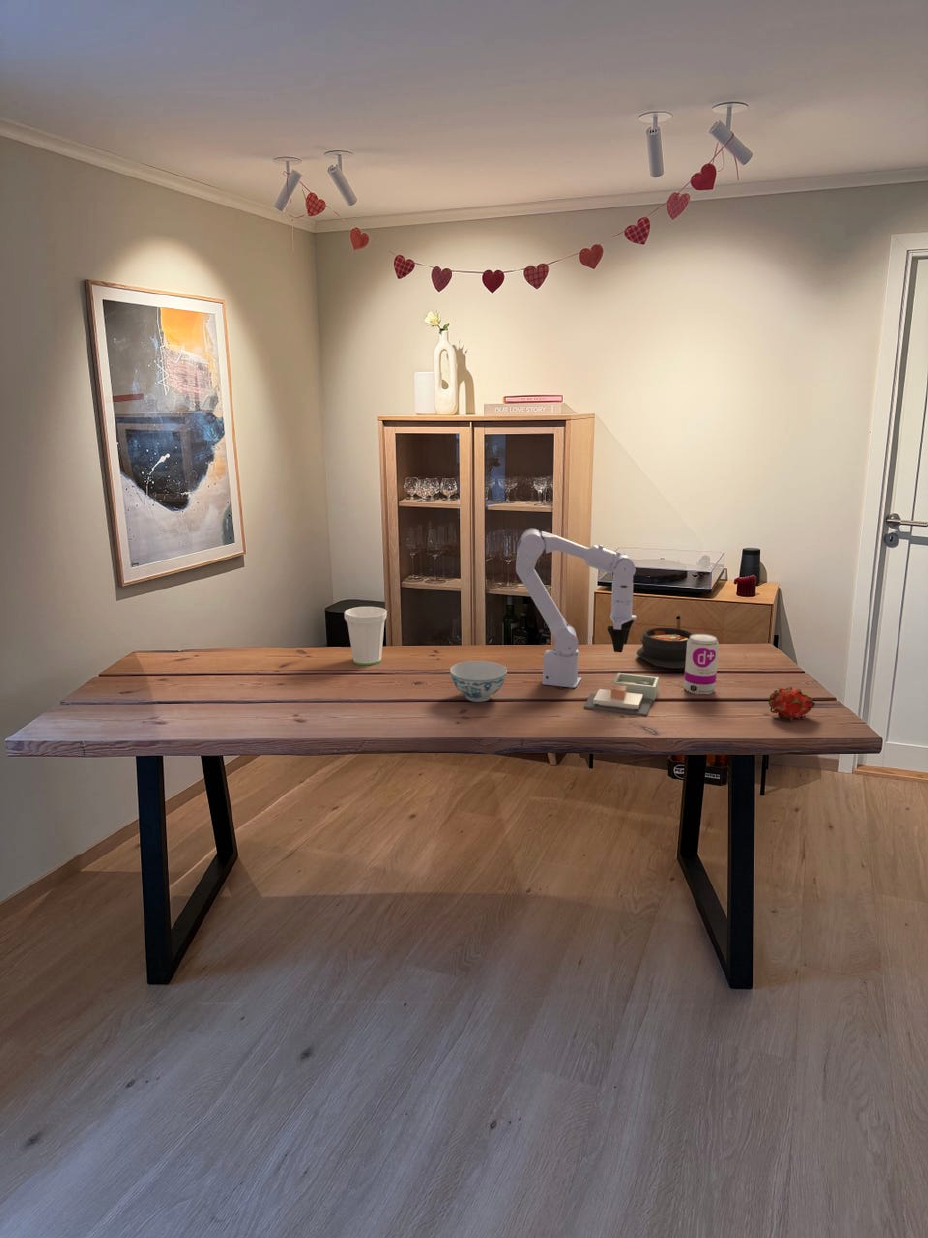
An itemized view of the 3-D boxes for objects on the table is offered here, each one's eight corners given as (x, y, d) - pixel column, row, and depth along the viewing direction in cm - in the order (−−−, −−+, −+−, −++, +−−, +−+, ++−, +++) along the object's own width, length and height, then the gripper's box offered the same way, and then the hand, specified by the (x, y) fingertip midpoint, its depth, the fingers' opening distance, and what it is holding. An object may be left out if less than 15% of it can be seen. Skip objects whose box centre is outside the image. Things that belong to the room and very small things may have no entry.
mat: (583, 708, 221) (583, 706, 221) (591, 695, 230) (591, 693, 230) (646, 715, 216) (646, 714, 216) (651, 702, 225) (652, 700, 225)
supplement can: (716, 696, 229) (720, 642, 225) (684, 694, 231) (688, 641, 227) (713, 686, 237) (718, 634, 233) (683, 684, 239) (686, 632, 235)
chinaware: (480, 712, 218) (481, 683, 216) (438, 698, 228) (438, 670, 226) (518, 696, 229) (518, 669, 227) (476, 683, 239) (476, 657, 237)
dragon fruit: (761, 721, 217) (807, 728, 217) (776, 713, 209) (824, 720, 209) (760, 689, 220) (806, 695, 220) (775, 680, 212) (822, 686, 212)
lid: (593, 706, 221) (593, 690, 220) (599, 695, 229) (599, 680, 227) (637, 711, 217) (638, 695, 216) (642, 700, 225) (643, 685, 224)
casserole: (630, 647, 271) (631, 622, 269) (689, 648, 271) (691, 622, 268) (643, 674, 247) (645, 646, 245) (708, 674, 247) (711, 646, 244)
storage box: (612, 696, 229) (613, 682, 228) (617, 686, 237) (618, 672, 236) (654, 701, 226) (655, 686, 225) (658, 691, 233) (658, 677, 232)
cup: (352, 653, 265) (350, 605, 261) (392, 655, 263) (390, 607, 259) (341, 666, 253) (339, 616, 249) (382, 668, 251) (381, 618, 247)
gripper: (632, 607, 225) (631, 656, 228) (640, 594, 238) (638, 641, 242) (606, 605, 227) (604, 654, 231) (615, 592, 240) (613, 639, 244)
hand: (620, 647), depth 236 cm, fingers open, 7 cm apart
